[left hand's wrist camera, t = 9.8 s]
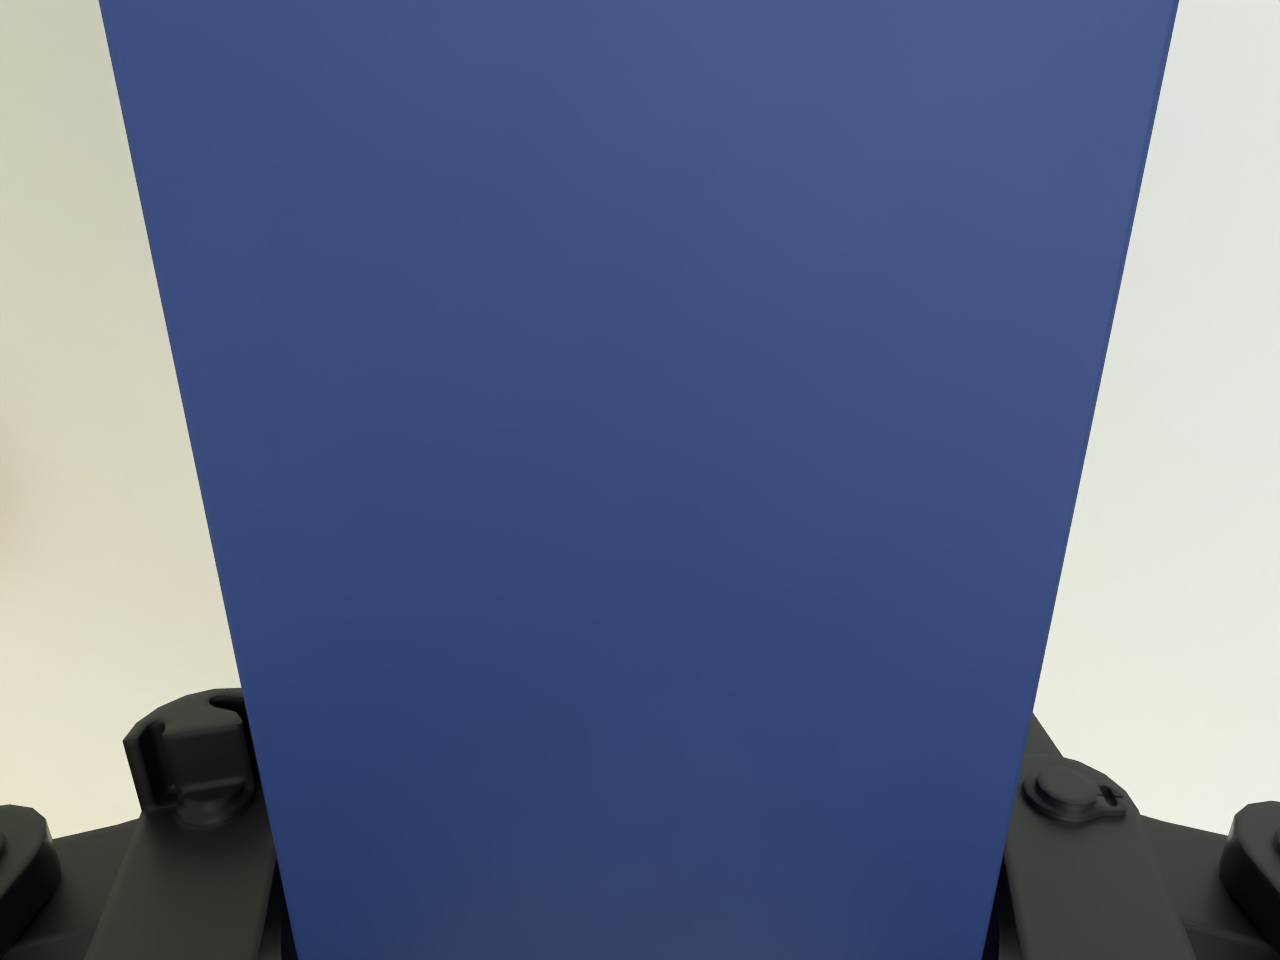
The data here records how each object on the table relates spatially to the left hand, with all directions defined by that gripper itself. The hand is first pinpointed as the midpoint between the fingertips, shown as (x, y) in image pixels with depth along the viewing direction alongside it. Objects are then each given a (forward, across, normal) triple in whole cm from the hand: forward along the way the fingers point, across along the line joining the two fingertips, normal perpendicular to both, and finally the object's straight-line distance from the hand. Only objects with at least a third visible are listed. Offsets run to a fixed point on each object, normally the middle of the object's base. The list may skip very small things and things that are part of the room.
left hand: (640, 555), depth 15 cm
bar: (+1, 0, -11) cm, 11 cm away
